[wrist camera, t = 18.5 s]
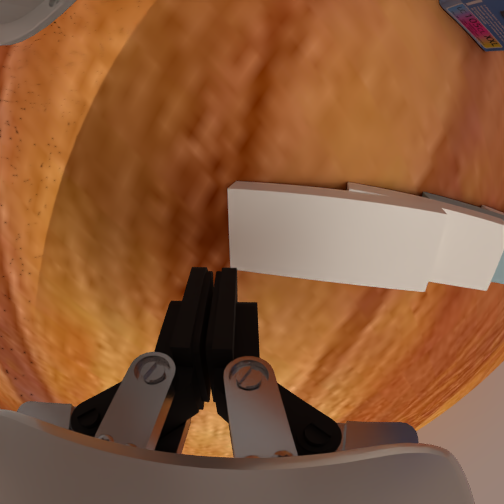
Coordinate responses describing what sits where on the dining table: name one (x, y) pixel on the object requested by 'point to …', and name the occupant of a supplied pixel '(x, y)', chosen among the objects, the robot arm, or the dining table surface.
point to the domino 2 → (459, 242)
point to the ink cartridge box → (479, 20)
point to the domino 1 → (333, 235)
